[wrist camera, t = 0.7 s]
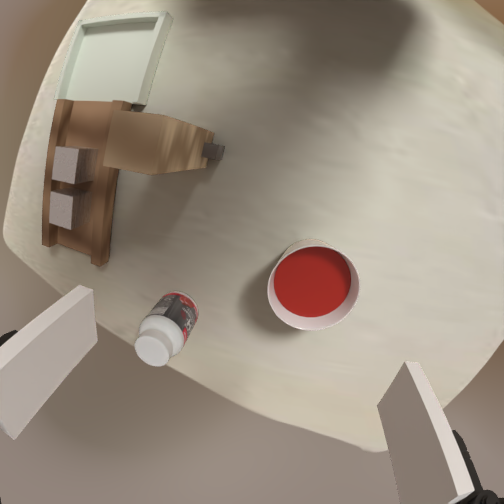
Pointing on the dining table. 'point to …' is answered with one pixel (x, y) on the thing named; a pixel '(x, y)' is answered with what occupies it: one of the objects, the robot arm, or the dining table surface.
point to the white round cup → (313, 285)
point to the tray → (114, 57)
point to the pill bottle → (166, 328)
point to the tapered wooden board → (157, 144)
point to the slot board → (102, 187)
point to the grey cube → (74, 164)
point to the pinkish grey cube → (70, 207)
